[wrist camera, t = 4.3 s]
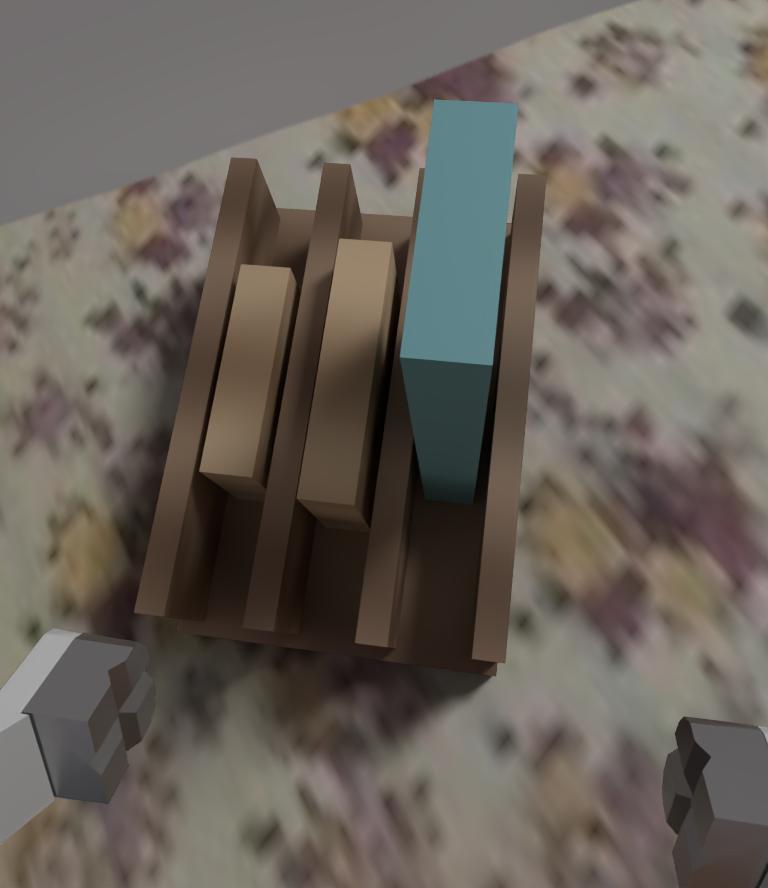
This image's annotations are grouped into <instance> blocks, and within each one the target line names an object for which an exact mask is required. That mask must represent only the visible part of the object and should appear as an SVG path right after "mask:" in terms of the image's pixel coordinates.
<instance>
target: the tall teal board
mask: <svg viewBox="0 0 768 888" xmlns="http://www.w3.org/2000/svg"><path fill="white" fill-rule="evenodd" d="M517 113H518V104H516V103H494V102H472V101H450V100H434V106H433V113H432V121H431V128H430V136H429V143H428V151H427V158H426V166H425V173H424V180H423V188H422V195H421V203H420V210H419V218H418V225H417V233H416V240H415V248H414V255H413V262H412V270H411V277H410V285H409V292H408V300H407V307H406V315H405V322H404V329H403V337H402V344H401V352H400V361H401V367H402V372H403V378H404V384H405V389H406V395H407V401H408V406H409V412H410V417H411V423H412V429H413V434H414V440H415V445H416V451H417V457H418V462H419V468H420V474H421V479H422V485H423V490H424V496H425V499H426V500H435V501H444V502H453V503H462V504H471V505H473V500H474V493H475V486H476V479H477V472H478V465H479V458H480V451H481V444H482V437H483V430H484V422H485V415H486V408H487V401H488V394H489V387H490V380H491V373H492V366H493V356H494V346H495V336H496V325H497V315H498V305H499V295H500V285H501V275H502V265H503V255H504V245H505V234H506V224H507V214H508V204H509V194H510V184H511V174H512V164H513V153H514V143H515V133H516V123H517Z"/></svg>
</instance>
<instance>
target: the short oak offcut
mask: <svg viewBox="0 0 768 888" xmlns="http://www.w3.org/2000/svg"><path fill="white" fill-rule="evenodd" d="M400 309H401V300H400V293H399V286H398V279H397V272H396V266H395V259H394V252H393V245H392V242H382V241H368V240H354V239H339V244H338V250H337V256H336V262H335V268H334V274H333V280H332V286H331V292H330V299H329V305H328V311H327V317H326V323H325V329H324V335H323V341H322V347H321V353H320V359H319V365H318V372H317V378H316V384H315V390H314V396H313V402H312V408H311V414H310V420H309V426H308V432H307V438H306V445H305V451H304V457H303V463H302V469H301V475H300V481H299V487H298V493H297V500H299V501H300V502H301V503H302V504H303V505H304V506H305V507H306V508H307V509H308V510H309V511H310V512H311V513H312V514H313V515H314V516H315V517H316V518H317V519H318V520H319V521H320V522H321V523H322V524H323V525H324V526H325V527H326V528H334V529H342V530H351V531H359V532H368V533H370V529H371V521H372V514H373V507H374V499H375V492H376V485H377V477H378V470H379V463H380V455H381V448H382V441H383V433H384V426H385V419H386V411H387V404H388V397H389V389H390V382H391V375H392V367H393V360H394V353H395V346H396V338H397V331H398V324H399V316H400Z"/></svg>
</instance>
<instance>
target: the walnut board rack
mask: <svg viewBox="0 0 768 888" xmlns="http://www.w3.org/2000/svg"><path fill="white" fill-rule="evenodd" d="M424 173H425V169H424V168H420V170H419V177H418V184H417V192H416V199H415V206H414V214H413V217H406V216H391V215H376V214H361V213H360V208H359V204H358V199H357V194H356V189H355V185H354V180H353V175H352V170H351V165H350V164H337V163H324V166H323V171H322V177H321V183H320V188H319V194H318V200H317V205H316V211H314V210H299V209H283V208H276V206H275V204H274V201H273V199H272V196H271V194H270V191H269V189H268V186H267V184H266V181H265V179H264V176H263V173H262V171H261V168H260V166H259V163H258V161H257V159H249V158H231V161H230V166H229V170H228V175H227V180H226V184H225V189H224V194H223V198H222V203H221V208H220V212H219V217H218V222H217V226H216V231H215V236H214V240H213V245H212V250H211V254H210V259H209V264H208V269H207V273H206V278H205V283H204V287H203V292H202V297H201V301H200V306H199V311H198V315H197V320H196V325H195V329H194V334H193V339H192V343H191V348H190V353H189V357H188V362H187V367H186V371H185V376H184V381H183V385H182V390H181V395H180V399H179V404H178V409H177V413H176V418H175V423H174V427H173V432H172V437H171V441H170V446H169V451H168V455H167V460H166V465H165V469H164V474H163V479H162V483H161V488H160V493H159V497H158V502H157V507H156V512H155V516H154V521H153V526H152V530H151V535H150V540H149V544H148V549H147V554H146V558H145V563H144V568H143V572H142V577H141V582H140V586H139V591H138V596H137V600H136V605H135V610H134V613H139V614H147V615H154V616H161V617H169V618H178V623H177V628H176V632H180V633H187V634H194V635H202V636H209V637H216V638H223V639H230V640H238V641H245V642H252V643H259V644H266V645H274V646H281V647H288V648H295V649H302V650H310V651H317V652H324V653H331V654H338V655H346V656H353V657H360V658H367V659H374V660H382V661H389V662H396V663H403V664H410V665H418V666H425V667H432V668H439V669H447V670H454V671H461V672H468V673H475V674H483V675H490V676H496V672H497V662H498V663H505V660H506V648H507V637H508V625H509V613H510V601H511V589H512V577H513V566H514V554H515V542H516V530H517V518H518V507H519V495H520V483H521V471H522V459H523V447H524V436H525V424H526V412H527V400H528V388H529V376H530V365H531V353H532V341H533V329H534V317H535V305H536V294H537V282H538V270H539V258H540V246H541V235H542V223H543V211H544V199H545V187H546V175H530V174H518V181H517V188H516V195H515V203H514V210H513V217H512V223H507V224H506V234H505V245H504V255H503V265H502V275H501V285H500V295H499V305H498V315H497V325H496V336H495V346H494V356H493V366H492V373H491V380H490V387H489V394H488V401H487V408H486V415H485V422H484V430H483V437H482V444H481V451H480V458H479V465H478V472H477V479H476V486H475V493H474V500H473V505H471V504H462V503H453V502H444V501H435V500H426V499H425V496H424V490H423V485H422V479H421V474H420V468H419V462H418V457H417V451H416V445H415V440H414V434H413V429H412V423H411V417H410V412H409V406H408V401H407V395H406V389H405V384H404V378H403V372H402V367H401V361H400V352H401V344H402V337H403V329H404V322H405V315H406V307H407V300H408V292H409V285H410V277H411V270H412V262H413V255H414V248H415V240H416V233H417V225H418V218H419V210H420V203H421V195H422V188H423V180H424ZM339 239H354V240H368V241H382V242H392V245H393V252H394V259H395V266H396V272H397V279H398V286H399V293H400V300H401V309H400V316H399V324H398V331H397V338H396V346H395V353H394V360H393V367H392V375H391V382H390V389H389V397H388V404H387V411H386V419H385V426H384V433H383V441H382V448H381V455H380V463H379V470H378V477H377V485H376V492H375V499H374V507H373V514H372V521H371V529H370V533H368V532H359V531H351V530H342V529H334V528H326V527H325V526H324V525H323V524H322V523H321V522H320V521H319V520H318V519H317V518H316V517H315V516H314V515H313V514H312V513H311V512H310V511H309V510H308V509H307V508H306V507H305V506H304V505H303V504H302V503H301V502H300V501H299V500H297V493H298V487H299V481H300V475H301V469H302V463H303V457H304V451H305V445H306V438H307V432H308V426H309V420H310V414H311V408H312V402H313V396H314V390H315V384H316V378H317V372H318V365H319V359H320V353H321V347H322V341H323V335H324V329H325V323H326V317H327V311H328V305H329V299H330V292H331V286H332V280H333V274H334V268H335V262H336V256H337V250H338V244H339ZM241 264H245V265H259V266H272V267H285V268H291V271H292V273H293V275H294V278H295V280H296V282H297V285H298V287H299V290H300V292H301V296H300V302H299V308H298V314H297V319H296V325H295V331H294V336H293V342H292V348H291V353H290V359H289V365H288V370H287V376H286V382H285V387H284V393H283V399H282V405H281V410H280V416H279V422H278V427H277V433H276V439H275V444H274V450H273V456H272V461H271V467H270V473H269V479H268V484H267V490H266V496H265V501H264V502H260V501H252V500H243V499H237V498H236V497H234V496H233V495H231V494H230V493H229V492H227V491H226V490H224V489H223V488H222V487H220V486H219V485H217V484H216V483H215V482H213V481H212V480H210V479H209V478H208V477H206V476H205V475H203V474H202V473H200V472H199V470H200V465H201V460H202V455H203V450H204V445H205V440H206V435H207V430H208V425H209V420H210V416H211V411H212V406H213V401H214V396H215V391H216V386H217V381H218V376H219V371H220V366H221V361H222V356H223V351H224V346H225V341H226V336H227V331H228V326H229V321H230V316H231V311H232V306H233V301H234V296H235V291H236V286H237V281H238V276H239V271H240V266H241Z"/></svg>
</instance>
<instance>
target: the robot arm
mask: <svg viewBox="0 0 768 888" xmlns="http://www.w3.org/2000/svg"><path fill="white" fill-rule="evenodd" d="M149 661H150V657H149V653H148V648H147V645H146V644H144V643H141V642H135V641H129V640H123V639H117V638H111V637H105V636H99V635H93V634H87V633H78V632H72V631H66V630H59V629H52V630H51V631H49V632H47V633H46V634H44V635H43V636H42V637H41V639H40V640H39V641H38V643H37V644H36V645H35V646H34V648H33V649H32V650H31V651H30V653H29V654H28V655H27V657H26V658H25V659H24V660H23V662H22V663H21V664H20V665H19V667H18V668H17V669H16V671H15V672H14V673H13V674H12V676H11V677H10V678H9V680H8V681H7V682H6V683H5V685H4V686H3V687H2V688H1V690H0V844H2V843H3V842H4V841H5V840H7V839H8V838H9V837H10V836H11V835H13V834H14V833H15V832H16V831H18V830H19V829H20V828H21V827H23V826H24V825H25V824H26V823H28V822H29V821H30V820H31V819H32V818H34V817H35V816H36V815H37V814H39V813H40V812H41V811H42V810H44V809H45V808H46V807H47V806H48V805H50V804H51V803H52V802H53V801H54V800H55V798H54V797H59V798H66V799H73V800H81V801H88V802H96V803H103V804H109V802H110V800H111V798H112V796H113V795H114V793H115V791H116V789H117V787H118V785H119V783H120V781H121V779H122V778H123V776H124V774H125V772H126V770H127V768H128V766H129V764H128V760H127V755H126V751H128V750H129V749H131V748H132V747H133V746H135V745H136V744H138V743H139V742H141V741H142V739H143V737H144V735H145V733H146V731H147V729H148V727H149V725H150V722H151V719H152V715H153V711H154V708H155V696H156V690H155V684H154V680H153V679H152V678H151V677H150V676H149V675H148V674H147V673H146V672H145V668H146V666H147V665H148V663H149ZM675 737H676V741H677V746H678V749H676V750H674V751H673V752H671V753H669V754H668V756H667V760H666V763H665V767H664V770H663V783H662V795H663V806H664V812H665V818H666V822H667V823H668V825H669V826H670V827H671V828H672V829H673V831H674V832H675V833H676V834H677V835H678V837H677V840H676V843H675V846H674V848H673V851H672V854H673V859H674V864H675V869H676V874H677V879H678V884H679V888H768V727H760V726H756V727H755V726H753V725H748V724H740V723H732V722H724V721H716V720H708V719H700V718H692V717H683V718H682V719H681V720H680V721H679V723H678V726H677V729H676V732H675Z"/></svg>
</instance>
